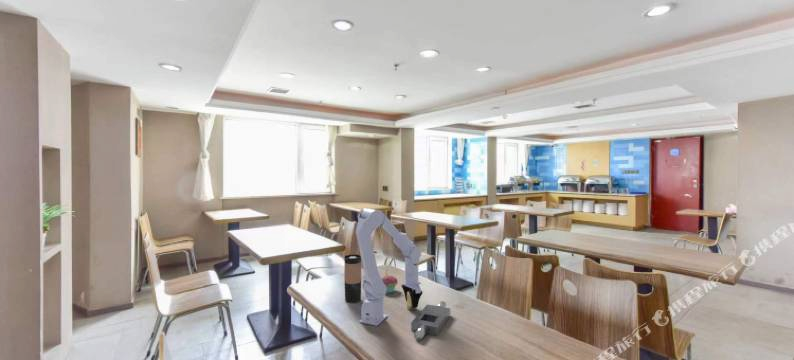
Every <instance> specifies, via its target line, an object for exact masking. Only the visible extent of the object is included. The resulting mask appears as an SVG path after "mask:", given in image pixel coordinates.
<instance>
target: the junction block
mask: <svg viewBox="0 0 794 360" xmlns="http://www.w3.org/2000/svg"><path fill="white" fill-rule="evenodd" d="M450 317H451V308H450V307H447V303H446V301H444V300H443V301H442V300H441V301H439V303H438V304H437V305H434V304H433V305H432V304H426V305H425V306H424V307H423V308H422V309H421V311H420V312H419V313H418V314H417V315H416V316H415V318H413V320H412V321H411V323H410V327H411V328H410V329H411V331H413V332H414V335H413V337H414V339H415V340H416V341H418V342H419V341H422V339H423V338H424V337H425V335H426V334H427V335H432V336H438V335H439V333H441V331H442V329H443V328H444V326H445V325H446V323H447V321H449V318H450Z"/></svg>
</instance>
